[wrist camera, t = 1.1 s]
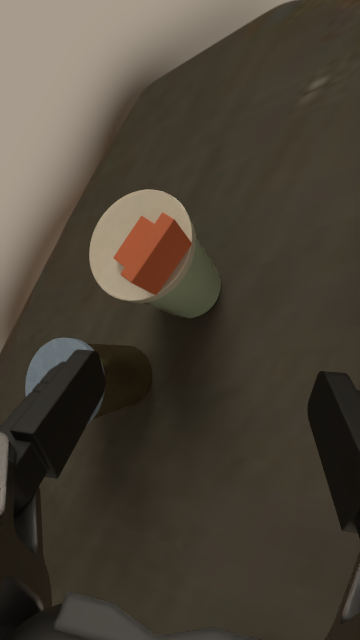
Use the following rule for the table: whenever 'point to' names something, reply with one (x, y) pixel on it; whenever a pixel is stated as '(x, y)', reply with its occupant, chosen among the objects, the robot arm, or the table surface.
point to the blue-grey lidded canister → (118, 366)
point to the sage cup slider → (152, 252)
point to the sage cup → (187, 278)
